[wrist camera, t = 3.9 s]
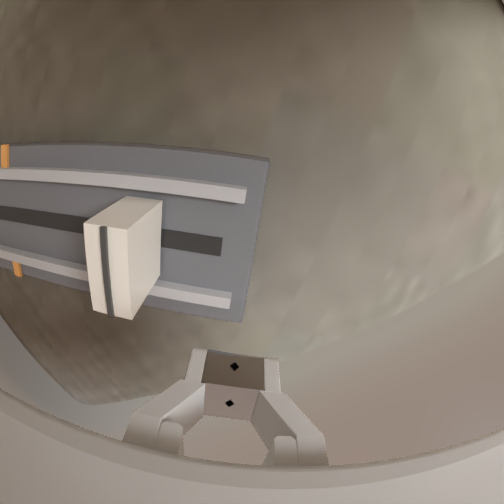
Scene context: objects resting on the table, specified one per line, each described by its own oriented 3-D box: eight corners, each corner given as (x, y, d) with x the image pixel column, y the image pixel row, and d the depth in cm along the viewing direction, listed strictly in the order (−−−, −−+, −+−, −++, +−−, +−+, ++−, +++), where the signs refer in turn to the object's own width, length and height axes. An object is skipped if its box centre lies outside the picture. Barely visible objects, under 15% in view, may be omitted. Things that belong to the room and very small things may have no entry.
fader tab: (162, 200, 17) (125, 231, 12) (160, 274, 19) (130, 322, 14) (126, 196, 17) (81, 224, 12) (127, 268, 19) (91, 312, 14)
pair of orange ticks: (9, 144, 15) (6, 144, 15) (22, 275, 20) (20, 277, 20) (3, 144, 15) (1, 145, 15) (17, 274, 20) (15, 275, 20)
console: (269, 158, 18) (269, 164, 15) (243, 307, 22) (241, 330, 20) (-25, 147, 17) (-45, 152, 15) (-14, 250, 22) (-31, 261, 19)
